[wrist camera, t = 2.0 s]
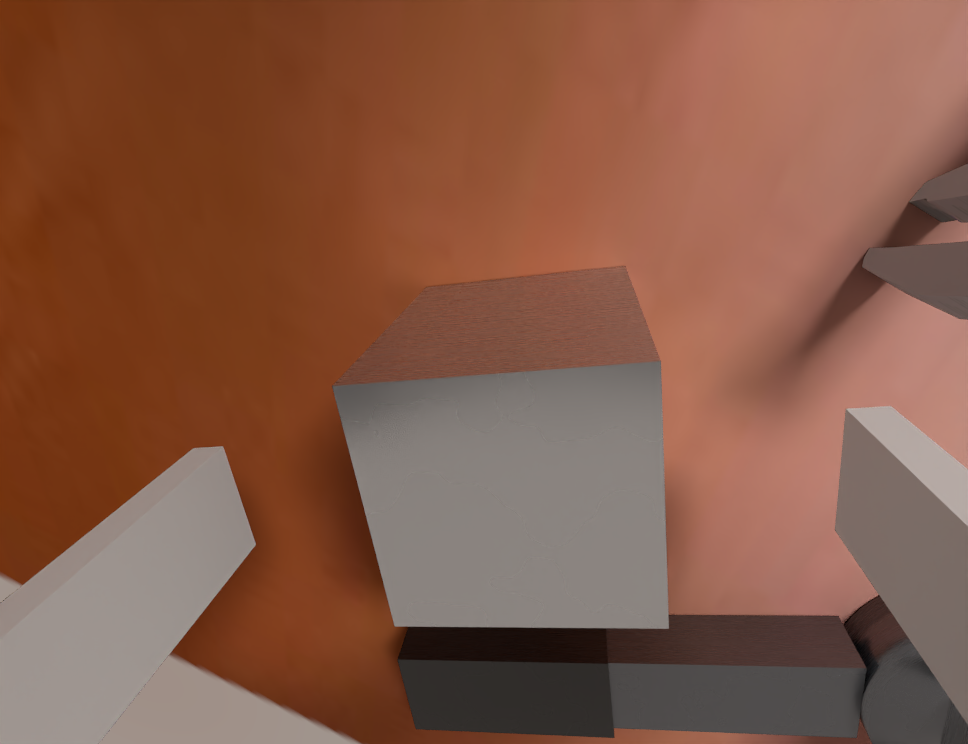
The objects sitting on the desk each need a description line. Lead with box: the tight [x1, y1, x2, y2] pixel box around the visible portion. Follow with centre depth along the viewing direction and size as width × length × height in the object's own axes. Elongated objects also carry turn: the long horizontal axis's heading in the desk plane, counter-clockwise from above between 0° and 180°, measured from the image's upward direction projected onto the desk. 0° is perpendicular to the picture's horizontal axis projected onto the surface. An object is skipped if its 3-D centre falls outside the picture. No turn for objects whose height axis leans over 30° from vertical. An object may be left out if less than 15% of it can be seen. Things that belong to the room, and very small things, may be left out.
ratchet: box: [398, 596, 968, 744], centre depth 17 cm, size 6×20×6 cm, turn 98°
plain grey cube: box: [332, 266, 669, 629], centre depth 14 cm, size 6×6×7 cm
